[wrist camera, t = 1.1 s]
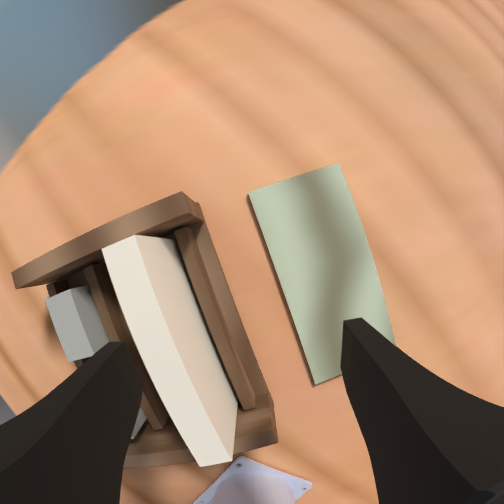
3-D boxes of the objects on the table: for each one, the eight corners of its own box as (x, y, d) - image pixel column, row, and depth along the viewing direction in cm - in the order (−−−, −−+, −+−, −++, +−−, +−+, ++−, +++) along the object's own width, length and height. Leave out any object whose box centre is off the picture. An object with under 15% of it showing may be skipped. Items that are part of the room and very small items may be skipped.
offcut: (94, 346, 20) (68, 362, 16) (74, 292, 20) (44, 299, 16) (119, 339, 20) (94, 355, 16) (98, 282, 20) (69, 289, 16)
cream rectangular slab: (216, 400, 20) (200, 466, 12) (155, 248, 20) (101, 248, 12) (238, 394, 20) (232, 461, 12) (178, 240, 20) (134, 234, 12)
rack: (127, 434, 21) (103, 470, 15) (55, 265, 21) (10, 269, 15) (395, 352, 21) (431, 378, 15) (334, 158, 21) (360, 129, 15)
